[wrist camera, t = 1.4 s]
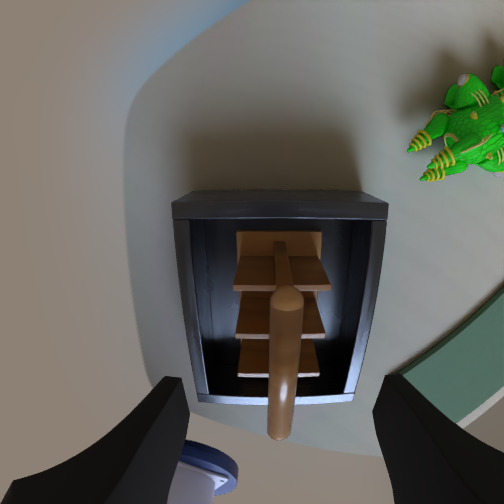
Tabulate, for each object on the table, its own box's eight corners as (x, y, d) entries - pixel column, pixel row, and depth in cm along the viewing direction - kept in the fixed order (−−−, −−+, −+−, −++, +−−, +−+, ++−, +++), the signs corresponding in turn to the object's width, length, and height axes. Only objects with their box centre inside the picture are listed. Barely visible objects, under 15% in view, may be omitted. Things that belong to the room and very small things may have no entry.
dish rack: (311, 350, 18) (327, 442, 11) (241, 350, 18) (229, 443, 11) (321, 229, 16) (361, 292, 9) (236, 229, 16) (212, 292, 9)
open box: (341, 364, 19) (352, 401, 16) (208, 364, 20) (198, 402, 16) (363, 191, 16) (389, 203, 12) (191, 190, 16) (170, 202, 12)
